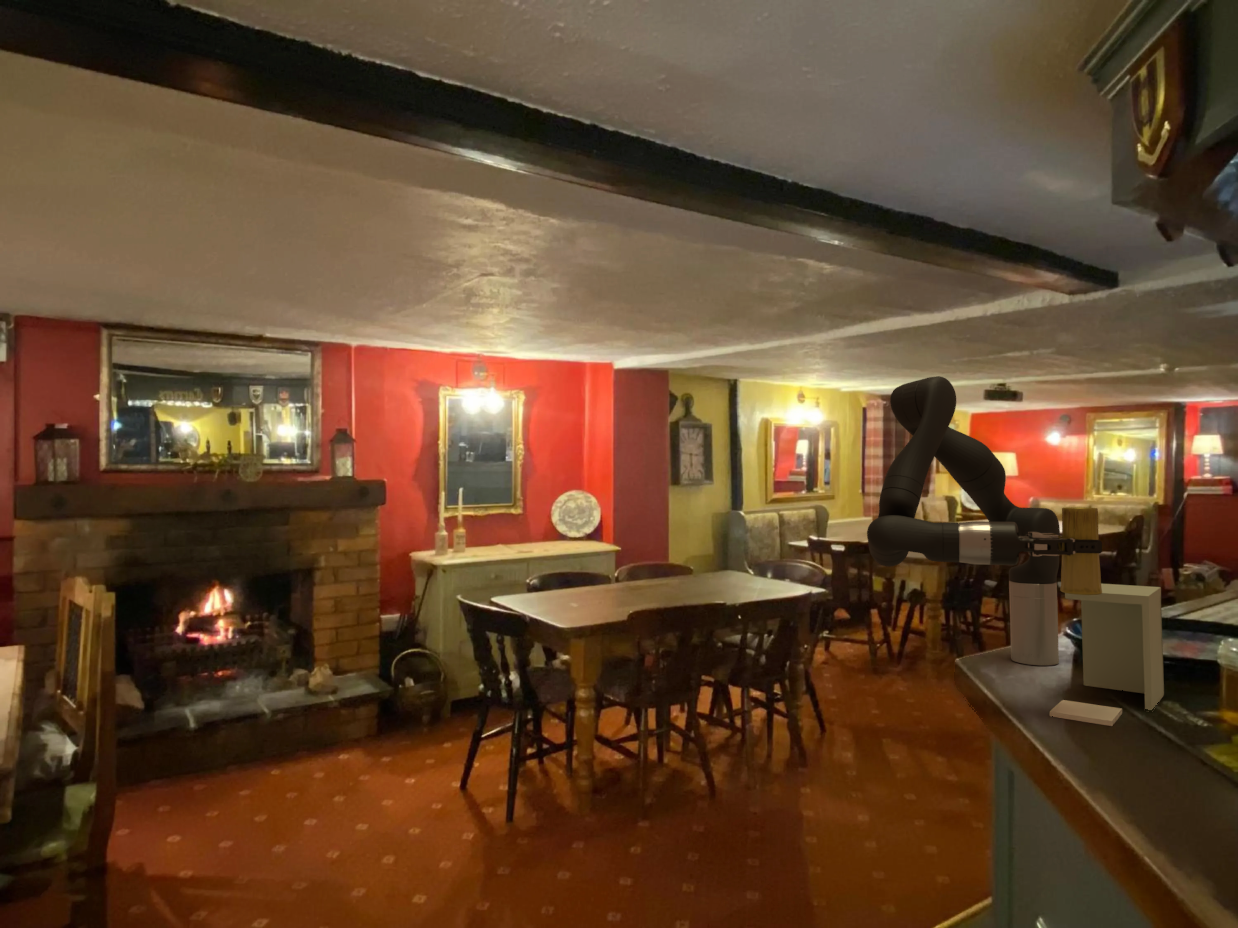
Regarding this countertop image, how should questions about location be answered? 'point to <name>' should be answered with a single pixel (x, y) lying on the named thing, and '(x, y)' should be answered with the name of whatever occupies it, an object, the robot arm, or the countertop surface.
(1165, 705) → the countertop surface
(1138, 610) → the shelf nook
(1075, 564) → the vase
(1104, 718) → the tile
